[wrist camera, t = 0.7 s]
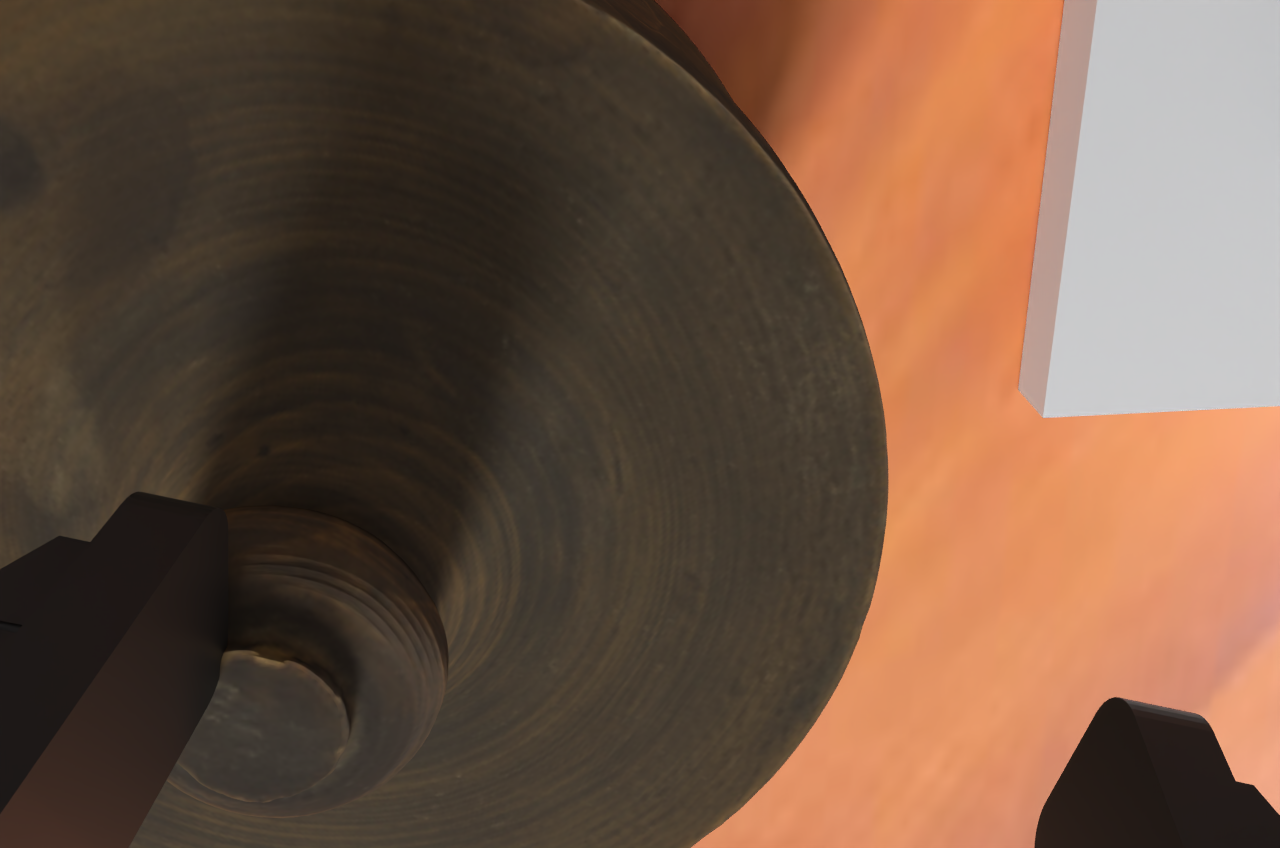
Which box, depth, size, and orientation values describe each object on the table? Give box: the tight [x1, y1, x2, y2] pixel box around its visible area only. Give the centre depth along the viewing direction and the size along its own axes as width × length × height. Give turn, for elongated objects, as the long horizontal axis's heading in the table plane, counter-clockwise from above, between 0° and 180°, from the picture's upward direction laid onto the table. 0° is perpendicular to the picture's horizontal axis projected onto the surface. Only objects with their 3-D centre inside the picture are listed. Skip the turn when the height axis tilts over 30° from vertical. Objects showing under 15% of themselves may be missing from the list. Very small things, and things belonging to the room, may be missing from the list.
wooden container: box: [0, 0, 888, 848], centre depth 21 cm, size 15×15×22 cm
